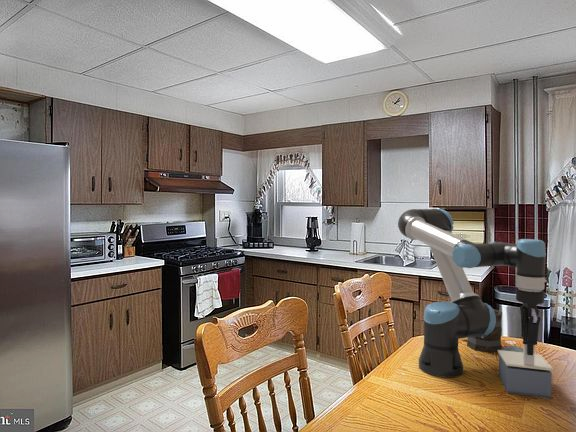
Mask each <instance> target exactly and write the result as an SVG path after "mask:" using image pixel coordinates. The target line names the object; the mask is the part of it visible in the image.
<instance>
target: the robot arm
mask: <svg viewBox="0 0 576 432" xmlns="http://www.w3.org/2000/svg"><path fill="white" fill-rule="evenodd" d="M453 225H454V221H453V217H452V216H451V214H450V212H449V211H446V210H445V209H441V208H429V209H428V208H420V209H419V208H415V209H414V208H413V209H408V210H406V211H404V212H403V213H401V215H400V216H399V218H398V221H397V227H398V230H399V232H400V233H401V235H402V236H404V237H406V238H408V239H410V240H412V241H414V240H415V241H418V242H421V243H422V244H425V245H427V246H429V248H430V250H431V253H432V257H433V259H434V260H435V263H436V267H437V269H438V270H439V273H440V276H441V279H442V281H443V282H444V287H445V288H446V291H447V293H448V296H449V298H450V301H434V302H432V303H429V304H426V306H425V308H424V314H423V347H422V349H421V353H420V355H419V357H418V368H419V369H420V370H421V371H423V372H424V373H427V374H429V375H431V376H434V377H441V378H457V377H459V376H462V375H463V374H464V363H463V360H462V356H461V355H460V351H459V339H468V338H469V337H481V336H483V335H487V334H489V333H491V332H492V331H493V329H494V327H495V324H496V316H495V313H494V310H493V309H494V308H493V307H492V306H491V305H489V304H488V303H486V302H483V301H482V298H481V296H480V295H479V294H477V293H475V292H474V291H473V288H472V286H471V284H470V282H469V279H468V276H467V274H466V272H465V270H464V268H467V269H474V268H483V267H499V266H505V267H511V268H516V274H515V280H516V281H515V286H516V289H515V300H517V302H520V303H522V305H521V306H519V309H520V310H519V311H520V323H521V329H520V330H521V338H522V346H523V363H524V364H527V365H534V354H535V349H536V348H535V347H536V346H537V345H538V337H539V327H540V322H541V316H539V314H540V312H539V311H540V310H539V309H538V306H537V305H542V304H544V303H545V293H546V292H545V291H544V290H545V283H547V282H548V281H547V279H546V278H545V277H546V273H545V272H546V271H545V269H546V256H547V253H546V243H545V242H544V241H543V240H541V239H534V238H533V239H532V238H521V239H517V242H516V243H509V242H503V241H490V242H488V243H475V242H472V241H470V240H468V239H465V238H463V237H460V236H459V235H456V234H453V230H454V226H453Z"/></svg>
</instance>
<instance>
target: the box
mask: <svg viewBox="0 0 576 432" xmlns="http://www.w3.org/2000/svg"><path fill="white" fill-rule="evenodd" d="M497 374H498V377H499V379H500V380H501V383H502V386H503V388H504V389H505V391H506V394H511V395H512V394H513V395H519V396H520V395H521V396H527V397H534V398H541V399H548V400H549V399H550V400H552V383H553V382H552V378H553V377H552V376H553V375H552V371H549V370H540V369H531V368H522V367H514V366H506V364H505V362H504V361H503V359H502V358H501V356H500V355H499V354H498V373H497Z"/></svg>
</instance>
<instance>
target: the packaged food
mask: <svg viewBox="0 0 576 432" xmlns="http://www.w3.org/2000/svg"><path fill="white" fill-rule="evenodd" d="M501 350H504V351H514V352H523V348H522V347H520V346H517V345H507V346H504V347H502V348H501Z"/></svg>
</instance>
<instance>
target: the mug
mask: <svg viewBox="0 0 576 432" xmlns="http://www.w3.org/2000/svg"><path fill="white" fill-rule="evenodd" d="M492 309H493V310H494V313H495V316H496V324H495V327H494V329H493V331H492V332H491V333H489V334H487V335H483V336H481V337H469V338H467V342H466V347H468V348H470V349H471V350H473V351H475V352H480V353H486V354H496V353H498V350H501V348H503V347H502V332H503V331H502V329H503V328H502V316H503V311H501V310H497V309H495V308H492Z"/></svg>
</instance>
